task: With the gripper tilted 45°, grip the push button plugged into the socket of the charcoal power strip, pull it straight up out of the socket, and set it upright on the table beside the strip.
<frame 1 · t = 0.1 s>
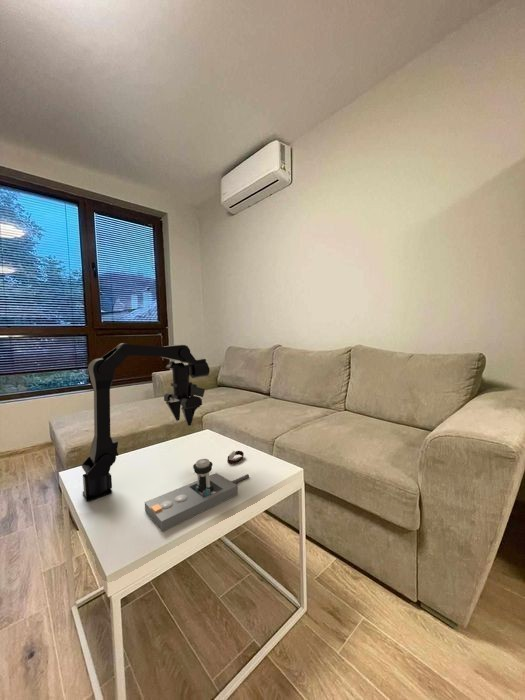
hand: (183, 422, 102), 15 cm above the table, tool pointing down, fingers open, 9 cm apart
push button: (206, 497, 80), resting in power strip
watch: (235, 461, 103), on the table
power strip: (193, 502, 77), on the table
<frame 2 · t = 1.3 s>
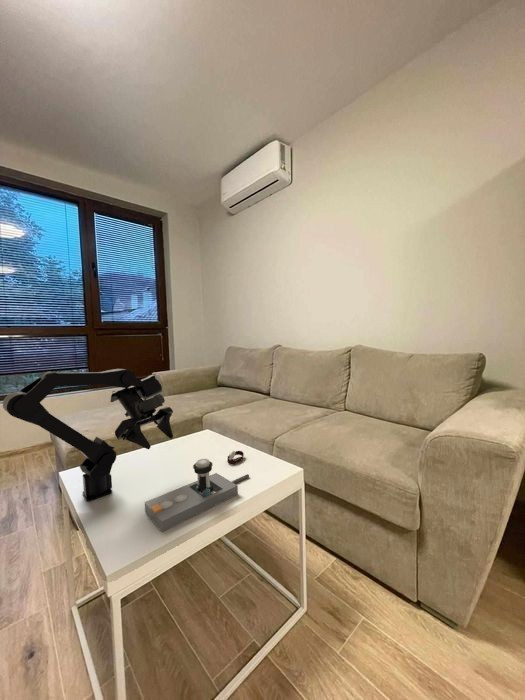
hand: (161, 442, 86), 13 cm above the table, tool tilted 45°, fingers open, 9 cm apart
nothing on the table moved.
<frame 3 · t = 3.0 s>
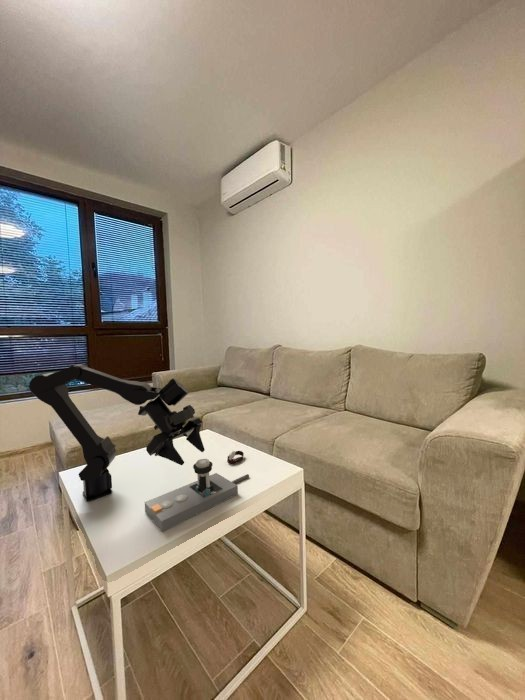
hand: (193, 457, 81), 11 cm above the table, tool tilted 45°, fingers open, 9 cm apart
nothing on the table moved.
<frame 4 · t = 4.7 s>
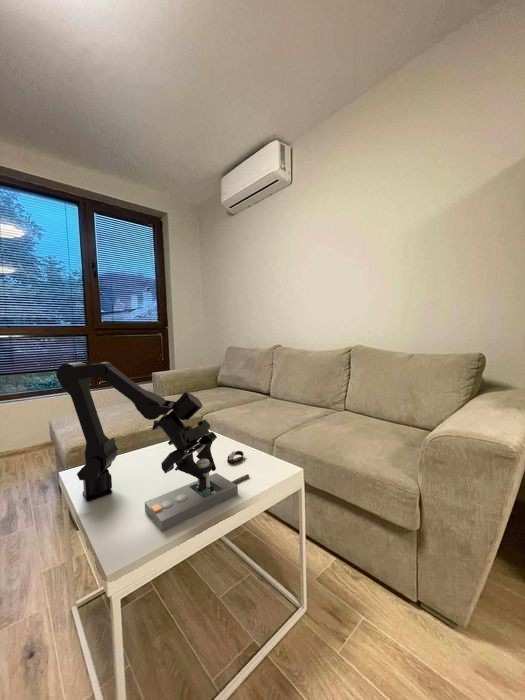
hand: (209, 474, 79), 7 cm above the table, tool tilted 45°, fingers closed on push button, 5 cm apart
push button: (206, 497, 80), resting in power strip, touching gripper
everything else where it was.
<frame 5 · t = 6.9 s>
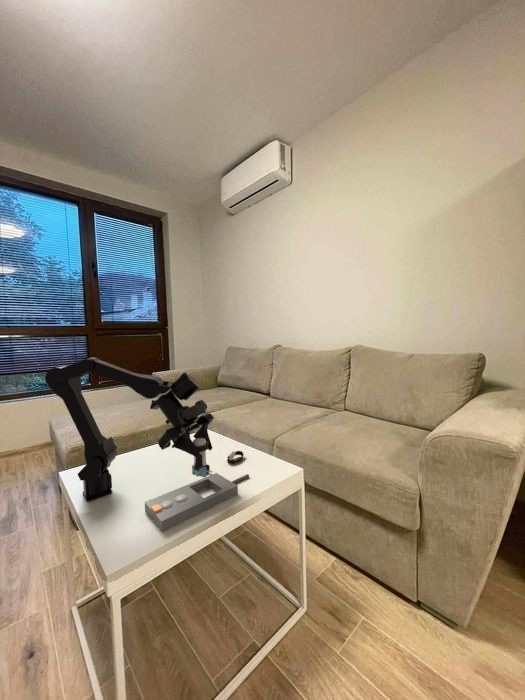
hand: (205, 453, 80), 12 cm above the table, tool tilted 45°, fingers closed on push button, 5 cm apart
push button: (202, 475, 81), point 5 cm above the table, touching gripper
everything else where it was.
when the fingers open (8 cm above the table, at t = 9.2 s): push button drops 1 cm, on the table.
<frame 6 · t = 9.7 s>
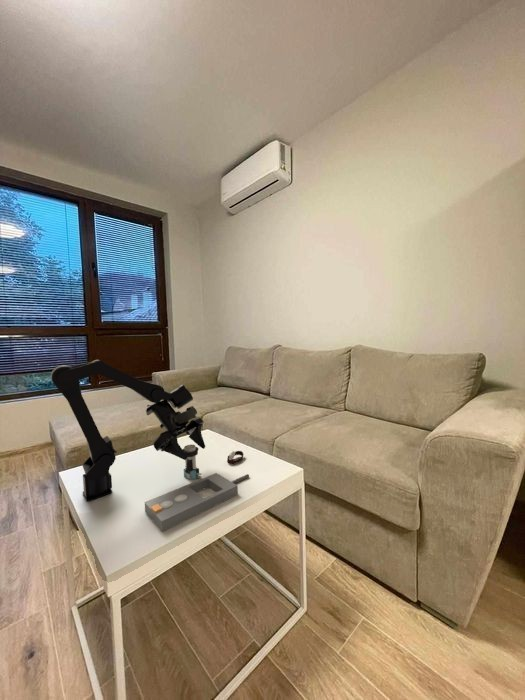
hand: (195, 453, 90), 8 cm above the table, tool tilted 45°, fingers open, 9 cm apart
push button: (193, 477, 91), on the table
everything else where it was.
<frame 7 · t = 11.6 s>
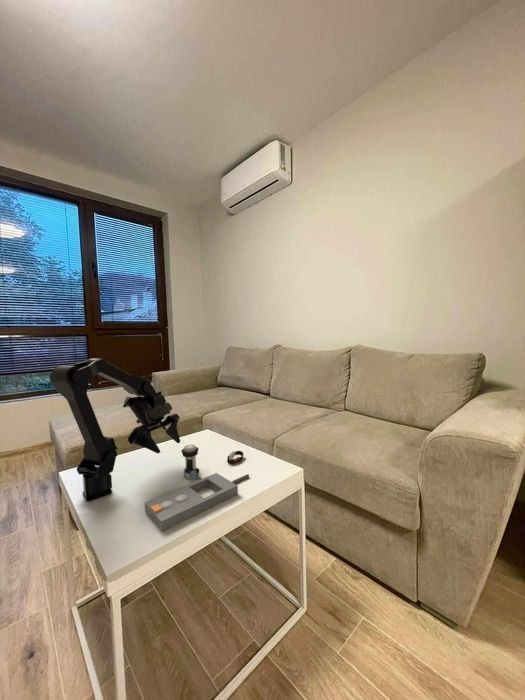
hand: (169, 447, 94), 9 cm above the table, tool tilted 45°, fingers open, 9 cm apart
nothing on the table moved.
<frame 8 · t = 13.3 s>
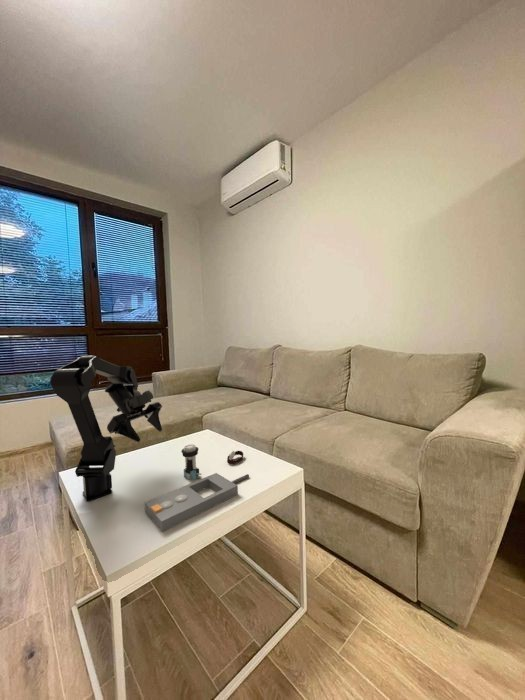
hand: (150, 435, 93), 13 cm above the table, tool tilted 45°, fingers open, 9 cm apart
nothing on the table moved.
at the end: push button touching table; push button inside the target area (0.2 cm from its centre), on the table; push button tilted 0° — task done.
